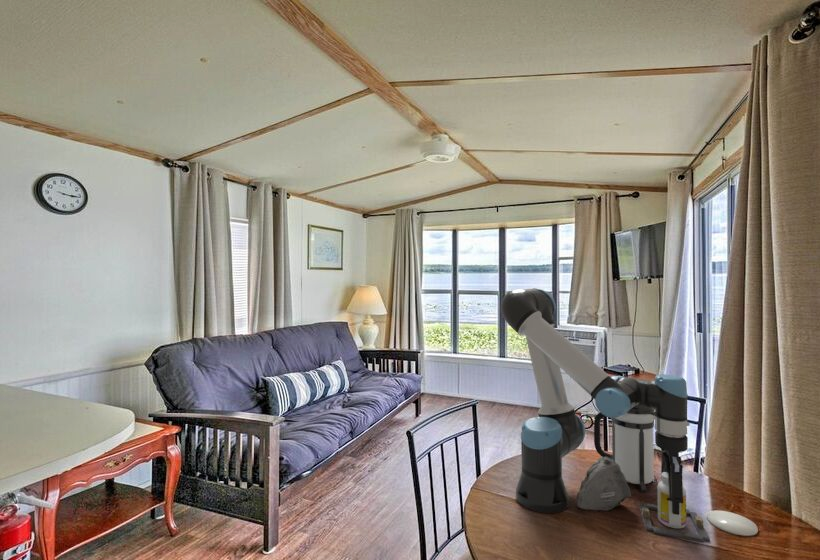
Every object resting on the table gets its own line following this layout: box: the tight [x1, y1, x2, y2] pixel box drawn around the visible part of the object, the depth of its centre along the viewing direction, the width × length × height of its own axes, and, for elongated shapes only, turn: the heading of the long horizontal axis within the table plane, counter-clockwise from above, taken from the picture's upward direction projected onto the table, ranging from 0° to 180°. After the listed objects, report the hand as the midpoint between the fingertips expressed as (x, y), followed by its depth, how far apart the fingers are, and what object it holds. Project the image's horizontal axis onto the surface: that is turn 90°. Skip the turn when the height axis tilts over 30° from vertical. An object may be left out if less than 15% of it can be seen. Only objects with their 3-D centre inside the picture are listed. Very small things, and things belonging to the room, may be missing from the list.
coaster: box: [706, 509, 759, 537], centre depth 114 cm, size 11×11×1 cm
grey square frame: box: [638, 502, 711, 543], centre depth 115 cm, size 14×14×2 cm
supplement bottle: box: [657, 472, 687, 529], centre depth 115 cm, size 7×7×13 cm
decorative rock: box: [576, 456, 632, 512], centre depth 122 cm, size 16×7×15 cm, turn 93°
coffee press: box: [593, 405, 658, 493], centre depth 139 cm, size 17×16×30 cm
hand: (671, 517), depth 115 cm, fingers closed on supplement bottle, 7 cm apart
